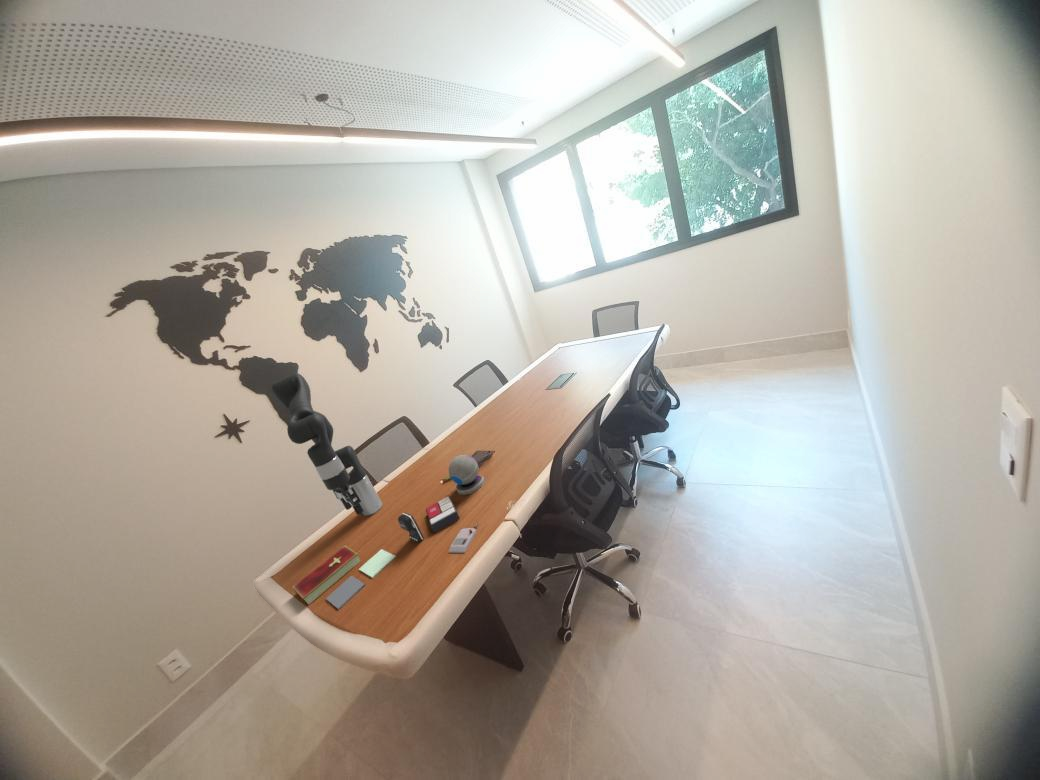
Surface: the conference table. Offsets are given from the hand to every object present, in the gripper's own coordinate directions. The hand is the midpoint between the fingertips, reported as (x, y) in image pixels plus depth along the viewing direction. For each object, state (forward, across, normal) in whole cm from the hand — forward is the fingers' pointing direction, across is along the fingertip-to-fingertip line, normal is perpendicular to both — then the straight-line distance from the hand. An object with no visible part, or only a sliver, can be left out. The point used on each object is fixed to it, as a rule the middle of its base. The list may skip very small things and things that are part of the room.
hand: (355, 510), depth 129 cm
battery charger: (+24, +2, +13) cm, 28 cm away
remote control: (+25, +23, +20) cm, 40 cm away
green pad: (+24, -4, -2) cm, 25 cm away
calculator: (+25, +3, +26) cm, 36 cm away
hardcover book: (+25, -19, -14) cm, 34 cm away
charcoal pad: (+24, -3, -15) cm, 28 cm away
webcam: (+25, -1, +46) cm, 52 cm away
